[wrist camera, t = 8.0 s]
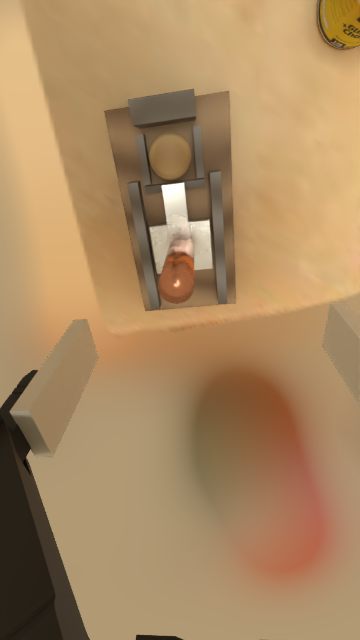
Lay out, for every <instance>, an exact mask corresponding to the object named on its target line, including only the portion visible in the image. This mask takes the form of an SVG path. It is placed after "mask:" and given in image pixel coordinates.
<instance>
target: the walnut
mask: <svg viewBox="0 0 360 640" xmlns="http://www.w3.org/2000/svg"><path fill="white" fill-rule="evenodd" d="M149 160H150V164H151V167H152V169H153V170H154V172H155V173H156V174H157V175H158V176H159V177H161V178H163V179H166V180H175V179H178V178H180V177H181V176H183V175H184V174H185V173H186V172H187V170H188V168H189V166H190V163H191V150H190V147H189V145H188V143H187V141H186V140H185V139H184V138H183V137H182V136H181V135H179V134H177V133H174V132H166V133H163V134H161V135H159V136H158V137H156V139H155V140H154V141H153V143H152V145H151V147H150V151H149Z"/></svg>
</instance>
